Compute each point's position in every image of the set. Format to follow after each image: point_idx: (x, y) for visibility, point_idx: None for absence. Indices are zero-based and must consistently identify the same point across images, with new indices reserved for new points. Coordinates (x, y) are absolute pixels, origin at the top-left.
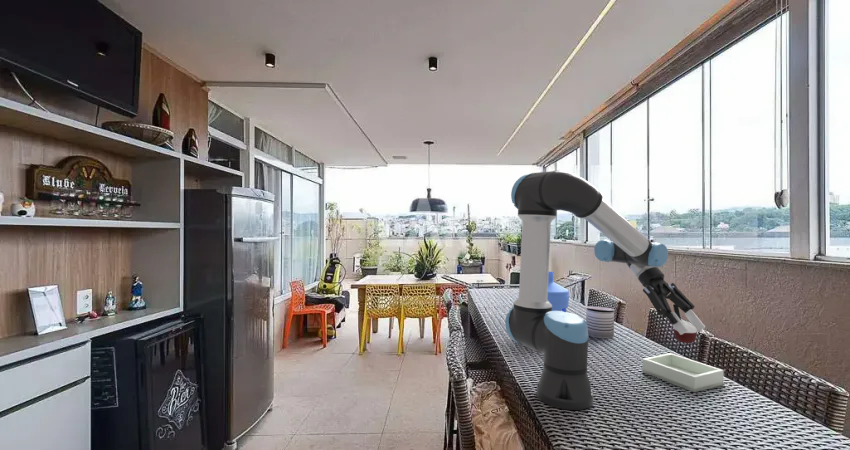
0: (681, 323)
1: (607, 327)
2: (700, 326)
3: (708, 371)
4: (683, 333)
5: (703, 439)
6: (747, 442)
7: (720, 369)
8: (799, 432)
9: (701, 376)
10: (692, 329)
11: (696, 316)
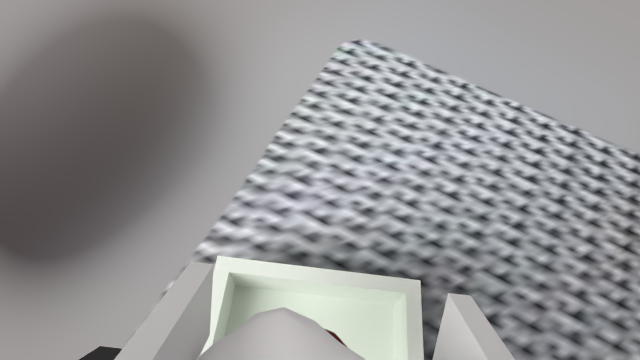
0: (503, 346)
1: None
2: (204, 301)
3: (222, 320)
4: (440, 344)
5: (627, 157)
6: (541, 112)
7: (219, 266)
8: (393, 77)
9: (375, 275)
10: (314, 327)
11: (144, 342)
